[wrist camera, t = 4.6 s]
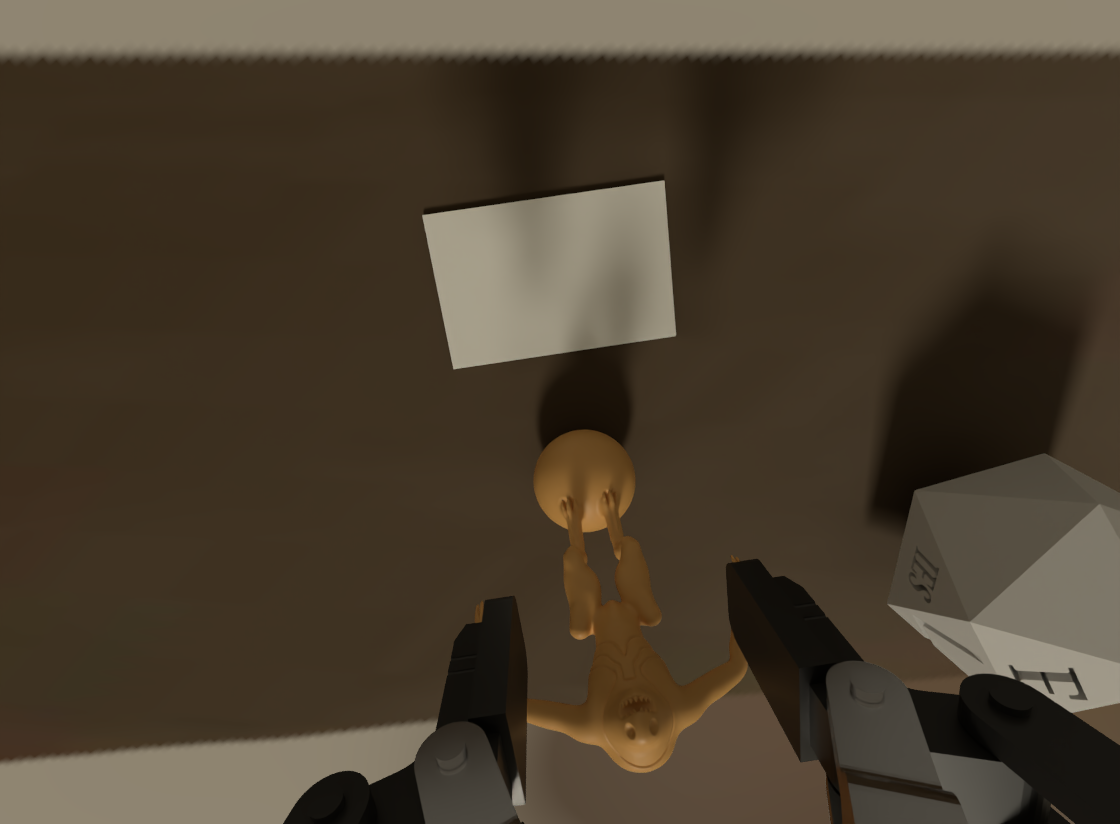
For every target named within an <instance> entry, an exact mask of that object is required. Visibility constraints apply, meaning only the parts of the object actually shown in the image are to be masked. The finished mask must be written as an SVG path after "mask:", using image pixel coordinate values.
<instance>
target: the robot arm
mask: <svg viewBox="0 0 1120 824" xmlns="http://www.w3.org/2000/svg"><path fill="white" fill-rule="evenodd" d="M726 579H727V595H728V612H729V620H730V625H731V629H732V632H733V635H734V638H735V640H736V642H737V644H738V646H739V648H740V650H741V652H742V654H743V655H744V657H745V659H746V661H747V663H748V665H749V667H750V668H751V670H752V672H753V674H754V676H755V678H756V680H757V682H758V683H759V685H760V687H761V689H762V691H763V693H764V695H765V697H766V698H767V700H768V702H769V704H770V706H771V708H772V710H773V711H774V713H775V715H776V717H777V719H778V721H779V723H780V725H781V726H782V728H783V730H784V732H785V734H786V736H787V738H788V740H789V742H790V743H791V745H792V747H793V749H794V751H795V753H796V755H797V756H798V758H799V760H800V762H806V761H812V760H819V761H820V763H821V765H822V767H823V768H824V770H825V772H826V794H827V801H828V809H829V816H830V823H831V824H1070V823H1069V822H1068V821H1067V820H1065V819H1064V818H1063V817H1062V816H1061V815H1060V814H1059V813H1057V812H1056V811H1055V810H1054V809H1052V808H1051V804H1053V805H1054V806H1055V807H1056V808H1057V809H1058V810H1060V811H1061V812H1062V813H1063V814H1065V815H1066V816H1067V817H1068V818H1069V819H1070V820H1072V821H1073V822H1074V823H1075V824H1120V745H1118V744H1117V743H1115V742H1114V741H1112V740H1111V739H1109V738H1108V737H1106V736H1105V735H1103V734H1102V733H1100V732H1099V731H1097V730H1096V729H1094V728H1093V727H1091V726H1090V725H1089V724H1087V723H1086V722H1084V721H1083V720H1081V719H1080V718H1078V717H1077V716H1075V715H1073V714H1072V713H1071V712H1069V711H1068V710H1066V709H1065V708H1063V707H1062V706H1060V705H1059V704H1057V703H1056V702H1054V701H1053V700H1051V699H1050V698H1048V697H1047V696H1045V695H1044V694H1042V693H1041V692H1039V691H1038V690H1036V689H1035V688H1033V687H1031V686H1029V685H1027V684H1025V683H1023V682H1020V681H1018V680H1016V679H1013V678H1009V677H1006V676H1002V675H997V674H985V673H982V674H975V675H971V676H969V677H967V678H965V679H964V680H963V681H962V683H961V685H960V692H959V695H954V694H946V693H936V692H928V691H920V690H914V689H910V688H907V687H906V686H905V684H904V683H903V682H902V681H901V680H900V679H899V678H898V677H896V676H895V675H894V674H892V673H891V672H889V671H888V670H886V669H884V668H882V667H880V666H877V665H875V664H871V663H868V662H864V661H863V659H862V658H861V657H860V656H859V655H858V653H857V652H856V651H855V650H854V648H853V647H852V646H851V645H850V644H849V642H848V641H847V640H846V639H845V638H844V636H843V635H842V634H841V633H840V632H839V630H838V629H837V628H836V627H835V626H834V624H833V623H832V622H831V621H830V620H829V618H828V617H827V618H826V616H825V614H824V612H823V611H822V610H821V609H820V607H819V606H818V605H816V604H815V601H814V600H813V599H812V598H811V597H810V595H809V594H808V593H807V592H806V591H805V589H804V588H803V587H801V586H800V585H798V584H796V583H795V582H793V581H792V580H790V579H788V578H787V577H785V576H780V577H774V578H773V577H772V576H771V575H770V574H769V572H768V571H767V570H766V568H765V567H764V566H763V564H762V563H761V562H760V561H759V560H758V559H752V560H746V561H739V562H733V563H728V564H727V566H726ZM527 678H528V670H527V657H526V649H525V643H524V638H523V633H522V628H521V623H520V618H519V613H518V608H517V603H516V599H515V596H509V597H502V598H496V599H489V600H485V603H484V609H483V616H482V622H479V623H472V624H466V625H465V627H464V628H463V629H462V631H461V632H460V634H459V635H458V637H457V638H456V639H455V641H454V646H453V651H452V655H451V661H450V665H449V670H448V676H447V679H446V684H445V689H444V693H443V698H442V703H441V708H440V712H439V717H438V722H437V727H436V731H435V732H433V733H432V734H431V735H430V736H429V737H428V738H427V739H426V740H425V741H424V742H423V743H422V745H421V747H420V748H419V750H418V752H417V754H416V758H415V761H414V762H413V763H412V764H410V765H409V766H407V767H406V768H404V769H402V770H400V771H398V772H396V773H394V774H392V775H390V776H388V777H386V778H383V779H381V780H379V781H377V782H375V783H372V784H370V785H369V784H368V782H367V780H366V778H365V777H364V776H362V775H361V774H360V773H357V772H354V771H342V772H338V773H335V774H332V775H329V776H327V777H325V778H323V779H322V780H320V781H319V782H317V783H316V784H314V785H313V786H312V787H311V788H309V789H308V790H307V791H306V792H305V793H304V794H303V795H302V796H301V798H300V799H299V800H298V801H297V803H296V804H295V806H294V807H293V809H292V810H291V812H290V813H289V815H288V817H287V818H286V820H285V821H284V823H283V824H524V822H520V820H519V818H518V816H517V813H516V810H515V808H514V806H518V805H524V804H525V803H526V742H527V735H526V734H527Z"/></svg>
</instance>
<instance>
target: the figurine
mask: <svg viewBox="0 0 1120 824" xmlns="http://www.w3.org/2000/svg"><path fill="white" fill-rule="evenodd" d="M534 490H535V494H536V497H537V500H538V502H539V504H540V506H541V508H542V509H543V511H544V512H545V513H546V515H547V516H548V517H549V518H550V519H551V520H553V521H554V522H555V523H557V524H558V525H560V526H562V527H564V528H566V529H568V532H569V537H570V543H571V546H570V547H569V548H568V549H567V550H566V552H565V553H564V556H563V561H564V586H565V591H566V594H567V598H568V601H569V606H570V633H571V635H572V636H573V637H574V638H576V639H584V638H586V637H587V636H589V635H591V634H595V637H596V651H595V654H594V659H593V665H592V667H591V670H590V674H589V679H588V696H587V700H586V702H585V703H584V704H582V705H570V704H564V703H558V702H552V701H545V700H536V699H528V698H527V722H528V723H530V724H533V725H537V726H540V727H543V728H546V729H550V730H555V731H559V732H563V733H565V734H567V735H569V736H571V737H572V738H574V739H575V740H577V741H579V742H582V743H586V744H592V745H598V746H600V747H602V748H603V749H604V750H605V751H606V752H607V753H608V754H609V756H610V757H611V758H612V759H613V760H614V761H615V762H616V763H617V764H618V765H619V766H620V767H622V768H624V769H626V770H628V771H632V772H641V773H642V772H644V773H645V772H650V771H652V770H655V769H657V768H659V767H660V766H662V765H663V764H664V763H665V762H666V761H667V760H668V758H669V757H670V756H671V754H672V752H673V749H674V746H675V743H676V740H677V737H678V735H679V733H680V732H681V731H682V730H683V729H684V728H686V727H688V726H690V725H691V724H693V723H694V722H696V721H697V720H698V719H699V718H700V717H701V715H702V714H703V712H704V711H705V710H706V709H707V707H708V706H709V705H710V704H712V703H713V702H714V701H716V700H718V699H719V698H721V697H722V696H723V695H725V694H726V693H727V692H728V691H729V690H731V689H732V688H733V687H734V686H735V685H736V684H737V683H739V681H740V680H741V679H742V678H743V677H744V675H745V673H746V671H747V666H748V663H747V661H746V659H745V657H744V655H743V654H742V652H741V650H740V648H739V646H738V644H737V642H736V640H735V638H734V635H733V632H732V629H731V638H730V643H729V651H730V659H729V661H728V662H726V663H724V664H722V665H720V666H718V667H716V668H714V669H713V670H711V671H709V672H708V673H706V674H704V675H702V676H701V677H699V678H697V679H696V680H694V681H693V682H691V683H689V684H687V685H685V686H679V685H677V684H676V683H675V681H674V680H673V678H672V677H671V675H670V673H669V670H668V668H667V666H666V664H665V662H664V661H663V660H662V659H661V657H660V656H659V655H658V654H657V653H656V652H654V651H653V649H652V647H651V646H650V644H649V643H648V642H647V641H646V640H645V639H644V637H643V635H642V632H641V629H640V625H647V626H655V625H657V624H658V623H659V622H660V620H661V617H662V614H661V611H660V609H659V607H658V605H657V603H656V601H655V599H654V597H653V594H652V590H651V585H650V577H649V571H648V567H647V564H646V562H645V559H644V557H643V554H642V551H641V548H640V545H639V543H638V541H637V540H635V539H634V538H632V537H630V536H625V537H624V536H623V531H622V526H621V522H620V517H621V516H622V515H623V514H624V513H625V511H626V510H627V508H628V507H629V505H630V503H631V501H632V498H633V495H634V490H635V472H634V467H633V464H632V462H631V459H630V457H629V455H628V454H627V452H626V451H625V449H624V448H623V447H622V446H621V445H620V444H619V443H618V442H617V441H616V440H614V439H613V438H611V437H610V436H608V435H606V434H604V433H601V432H598V431H594V430H575V431H570V432H567V433H565V434H563V435H561V436H559V437H557V438H556V439H554V440H553V441H552V442H551V443H549V444H548V445H547V447H546V448H545V449H544V450H543V452H542V453H541V455H540V457H539V459H538V461H537V464H536V467H535V471H534ZM606 527H608V531H609V534H610V539H611V542H612V545H613V547H614V553H615V556H616V558H617V559H618V560H620V561H619V563H618V565H617V568H616V571H615V583H616V587H617V590H618V592H619V595H620V597H621V602H617V601H615V600H610V601H608V602H607V603H606V604H605V605H604V606H602V604H601V586H600V582H599V580H598V578H597V576H596V574H595V573H594V572H593V571H592V570H591V569H590V568H589V567H588V566H587V554H586V553H585V545H584V539H583V532H592V531H597V530H601V529H603V528H606ZM731 559H732V562H739V561H740V560H739V559H738V558H737V557H736V558H735V559H736V560H735V559H734V557H733V556H732V555H731ZM483 609H484V608H483V601H481V604H480V611H479V605H477V606H476V612H475V623H479V622H482V616H483Z"/></svg>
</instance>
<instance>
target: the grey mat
mask: <svg viewBox="0 0 1120 824" xmlns="http://www.w3.org/2000/svg"><path fill="white" fill-rule="evenodd" d="M422 216H423V221H424V226H425V231H426V236H427V241H428V246H429V251H430V256H431V261H432V266H433V271H434V275H435V280H436V285H437V290H438V295H439V300H440V305H441V310H442V315H443V320H444V325H445V330H446V335H447V340H448V344H449V349H450V354H451V359H452V364H453V369H458V368H465V367H472V366H478V365H485V364H492V363H499V362H505V361H512V360H519V359H525V358H532V357H539V356H545V355H552V354H559V353H565V352H572V351H579V350H586V349H592V348H599V347H606V346H612V345H619V344H626V343H632V342H639V341H646V340H653V339H659V338H666V337H673V336H676V328H675V315H674V302H673V288H672V275H671V262H670V249H669V235H668V222H667V209H666V196H665V182H664V181H657V182H650V183H643V184H636V185H629V186H622V187H615V188H608V189H601V190H594V191H587V192H580V193H573V194H566V195H559V196H553V197H546V198H539V199H532V200H525V201H518V202H511V203H504V204H497V205H490V206H483V207H476V208H469V209H462V210H455V211H448V212H441V213H435V214H428V215H422Z"/></svg>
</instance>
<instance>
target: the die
mask: <svg viewBox="0 0 1120 824" xmlns="http://www.w3.org/2000/svg"><path fill="white" fill-rule="evenodd" d="M887 604H888V605H889V606H890V607H891V608H892V609H893V610H895V611H896V612H897V613H898V614H899V615H900V616H901V617H902V618H904V619H905V620H906V621H907V622H908V623H909V624H910V625H912V626H913V627H914V628H915V629H916V630H917V631H918V632H919V633H921V634H922V635H923V636H924V637H925V638H928V639H931V641H932V643H933V645H934V646H935V647H937V648H938V649H939V650H940V651H941V652H942V653H943V654H944V655H946V656H947V657H948V658H949V659H950V660H951V661H952V662H954V663H955V664H956V665H957V666H958V667H959V668H960V669H961V670H963V671H964V672H965V673H966V674H967V675H968V676H971V675H975V674H982V673H985V674H997V675H1002V676H1006V677H1009V678H1013V679H1016V680H1018V681H1020V682H1023V683H1025V684H1027V685H1029V686H1031V687H1033V688H1035V689H1036V690H1038V691H1039V692H1041V693H1042V694H1044V695H1045V696H1047V697H1048V698H1050V699H1051V700H1053V701H1054V702H1056V703H1057V704H1059V705H1060V706H1062V707H1063V708H1065V709H1066V710H1068V711H1069V712H1071V713H1073V712H1078V711H1082V710H1087V709H1092V708H1097V707H1102V706H1106V705H1111V704H1116V703H1120V493H1119V492H1117V491H1115V490H1113V489H1111V488H1109V487H1107V486H1105V485H1104V484H1102V483H1100V482H1098V481H1096V480H1094V479H1092V478H1090V477H1088V476H1087V475H1085V474H1083V473H1081V472H1079V471H1077V470H1075V469H1073V468H1072V467H1070V466H1068V465H1066V464H1064V463H1062V462H1060V461H1058V460H1056V459H1055V458H1053V457H1051V456H1049V455H1047V454H1045V453H1043V454H1040V455H1036V456H1033V457H1029V458H1026V459H1022V460H1019V461H1015V462H1012V463H1008V464H1005V465H1001V466H998V467H994V468H991V469H987V470H984V471H980V472H977V473H973V474H970V475H966V476H963V477H959V478H956V479H952V480H949V481H945V482H942V483H938V484H935V485H931V486H928V487H924V488H921V489H917V490H914V495H913V499H912V503H911V507H910V511H909V515H908V519H907V523H906V528H905V532H904V536H903V540H902V544H901V548H900V552H899V557H898V561H897V565H896V569H895V573H894V577H893V581H892V585H891V590H890V594H889V598H888V602H887Z"/></svg>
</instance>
